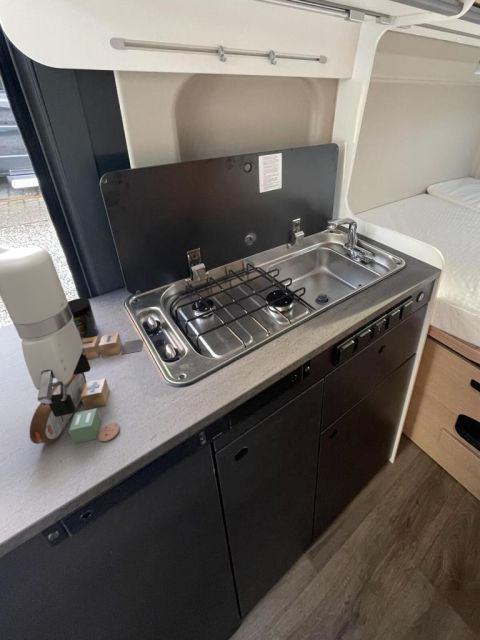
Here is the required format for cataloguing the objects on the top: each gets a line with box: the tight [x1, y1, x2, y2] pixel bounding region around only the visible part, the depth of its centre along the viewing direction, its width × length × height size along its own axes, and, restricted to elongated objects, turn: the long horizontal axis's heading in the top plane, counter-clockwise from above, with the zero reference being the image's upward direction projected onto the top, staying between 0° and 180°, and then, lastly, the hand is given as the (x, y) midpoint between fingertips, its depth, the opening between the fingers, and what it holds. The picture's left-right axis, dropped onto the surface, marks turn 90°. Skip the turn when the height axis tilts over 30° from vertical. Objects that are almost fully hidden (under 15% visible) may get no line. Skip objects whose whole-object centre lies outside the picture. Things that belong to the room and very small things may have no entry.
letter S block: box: [68, 407, 102, 445], centre depth 66 cm, size 4×4×4 cm
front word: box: [81, 377, 110, 410], centre depth 73 cm, size 4×4×4 cm
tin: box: [29, 372, 87, 445], centre depth 68 cm, size 15×3×8 cm, turn 4°
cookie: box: [97, 422, 120, 442], centre depth 66 cm, size 4×4×1 cm
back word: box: [82, 332, 144, 361], centre depth 87 cm, size 14×5×4 cm, turn 107°
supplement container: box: [68, 297, 99, 339], centre depth 90 cm, size 7×7×10 cm
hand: (74, 391), depth 62 cm, fingers open, 9 cm apart
